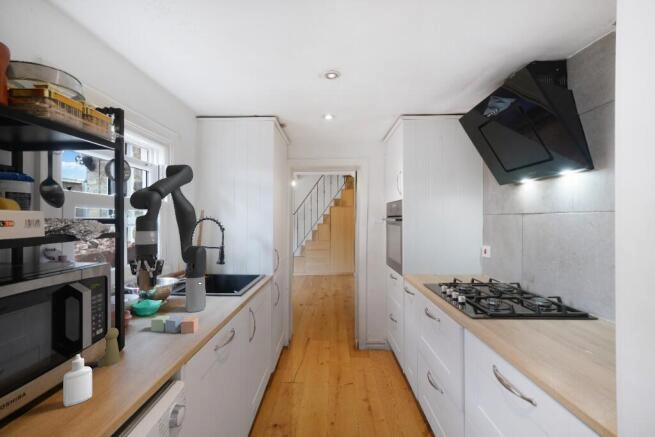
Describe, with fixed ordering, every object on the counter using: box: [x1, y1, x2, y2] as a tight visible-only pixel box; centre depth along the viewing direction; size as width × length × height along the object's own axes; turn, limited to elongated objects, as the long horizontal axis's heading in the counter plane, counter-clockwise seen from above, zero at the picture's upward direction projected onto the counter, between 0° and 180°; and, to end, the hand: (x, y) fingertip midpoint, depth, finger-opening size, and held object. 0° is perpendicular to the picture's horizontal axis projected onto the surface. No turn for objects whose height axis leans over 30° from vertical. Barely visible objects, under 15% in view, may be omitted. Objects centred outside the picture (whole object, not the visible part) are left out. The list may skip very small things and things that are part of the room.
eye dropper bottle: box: [62, 353, 93, 407], centre depth 76 cm, size 4×6×12 cm
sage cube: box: [150, 315, 171, 332], centre depth 126 cm, size 5×5×5 cm
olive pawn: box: [97, 327, 121, 368], centre depth 97 cm, size 6×6×11 cm
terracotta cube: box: [180, 317, 199, 335], centre depth 124 cm, size 5×5×5 cm
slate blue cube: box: [165, 315, 185, 334], centre depth 125 cm, size 5×5×5 cm
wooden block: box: [138, 269, 155, 292], centre depth 114 cm, size 4×4×8 cm
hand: (146, 286), depth 114 cm, fingers closed on wooden block, 5 cm apart
